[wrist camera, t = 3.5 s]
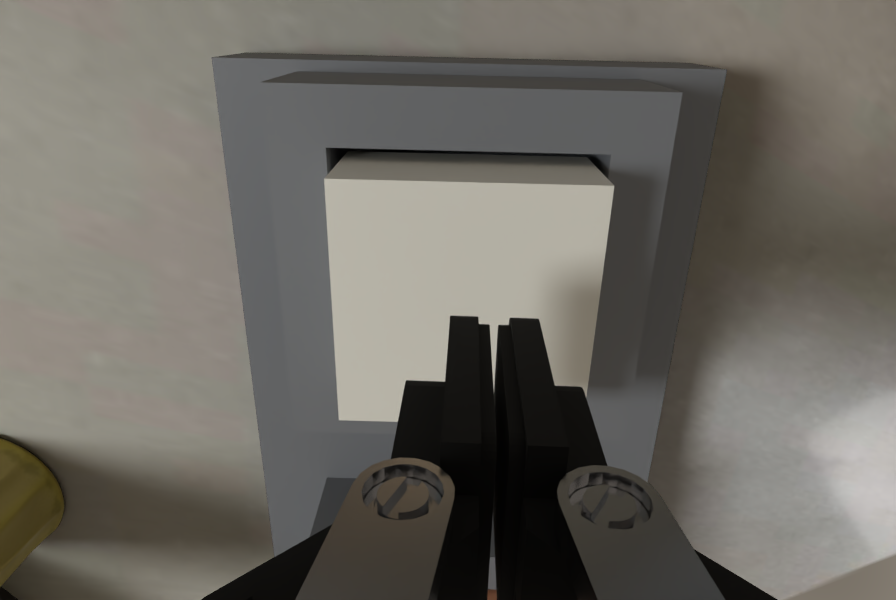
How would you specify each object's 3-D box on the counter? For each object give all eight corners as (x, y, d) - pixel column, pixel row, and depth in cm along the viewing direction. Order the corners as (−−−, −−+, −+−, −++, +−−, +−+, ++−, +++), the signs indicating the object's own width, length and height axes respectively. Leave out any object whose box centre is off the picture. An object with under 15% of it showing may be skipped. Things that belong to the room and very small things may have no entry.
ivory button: (347, 151, 16) (324, 179, 13) (586, 157, 15) (614, 185, 13) (356, 359, 18) (338, 420, 15) (563, 365, 18) (582, 426, 15)
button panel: (246, 52, 20) (153, 65, 14) (689, 62, 19) (790, 80, 14) (302, 596, 29) (263, 741, 23) (597, 604, 29) (633, 752, 23)
